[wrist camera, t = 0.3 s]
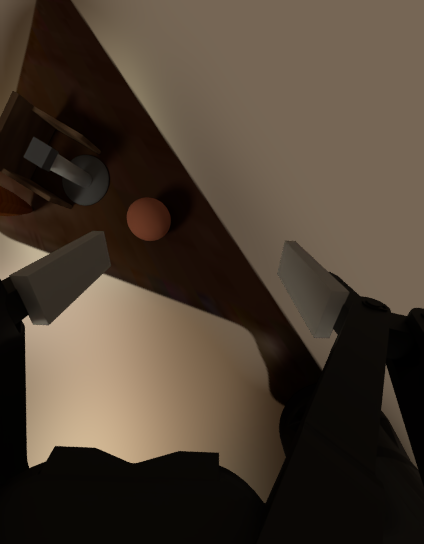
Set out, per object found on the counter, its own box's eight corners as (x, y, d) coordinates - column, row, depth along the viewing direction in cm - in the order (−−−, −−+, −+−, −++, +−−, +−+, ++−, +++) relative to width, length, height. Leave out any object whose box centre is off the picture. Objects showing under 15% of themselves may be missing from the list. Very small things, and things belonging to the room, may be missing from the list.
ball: (178, 239, 32) (166, 233, 26) (142, 245, 32) (121, 241, 26) (172, 201, 31) (158, 186, 25) (136, 208, 32) (114, 195, 26)
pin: (96, 177, 32) (51, 147, 24) (88, 192, 33) (41, 168, 24) (82, 168, 33) (33, 136, 24) (75, 183, 33) (23, 156, 25)
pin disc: (112, 200, 32) (111, 200, 32) (67, 209, 33) (66, 208, 33) (104, 151, 32) (104, 150, 32) (59, 161, 33) (58, 160, 33)
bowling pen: (101, 151, 32) (71, 125, 26) (70, 209, 33) (35, 196, 27) (52, 122, 33) (12, 90, 27) (24, 179, 34) (-21, 161, 28)
